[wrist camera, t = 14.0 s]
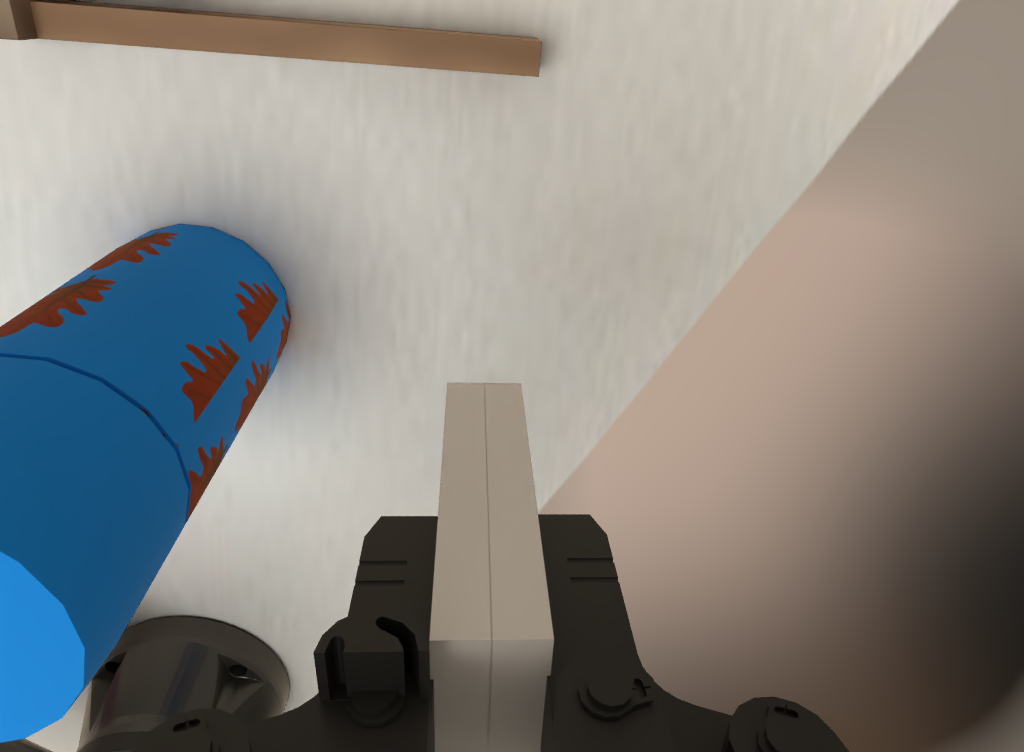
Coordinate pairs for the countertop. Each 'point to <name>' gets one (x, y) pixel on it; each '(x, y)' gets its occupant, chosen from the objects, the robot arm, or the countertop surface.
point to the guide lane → (268, 36)
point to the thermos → (116, 443)
